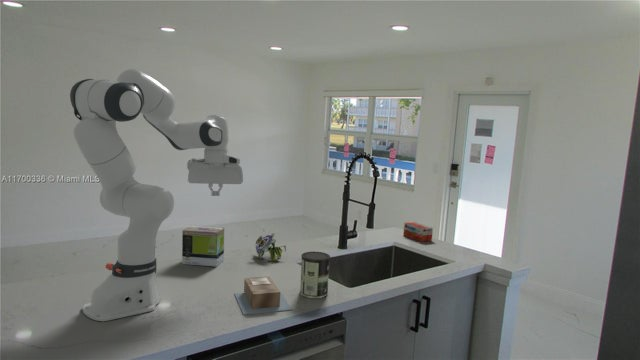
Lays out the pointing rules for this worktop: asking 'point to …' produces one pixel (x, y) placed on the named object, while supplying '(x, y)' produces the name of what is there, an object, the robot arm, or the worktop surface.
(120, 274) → the robot arm
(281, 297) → the mat
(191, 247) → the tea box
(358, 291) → the worktop surface
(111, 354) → the worktop surface
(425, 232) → the medicine box
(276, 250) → the passion flower
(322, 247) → the worktop surface
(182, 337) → the worktop surface
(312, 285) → the coffee can
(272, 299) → the cardboard box
